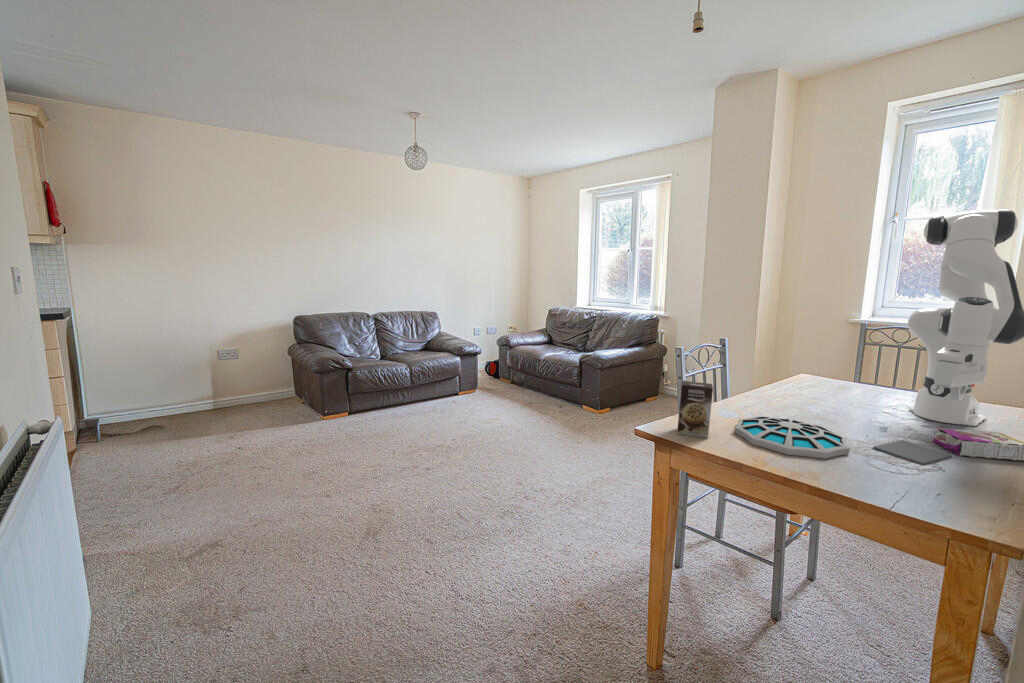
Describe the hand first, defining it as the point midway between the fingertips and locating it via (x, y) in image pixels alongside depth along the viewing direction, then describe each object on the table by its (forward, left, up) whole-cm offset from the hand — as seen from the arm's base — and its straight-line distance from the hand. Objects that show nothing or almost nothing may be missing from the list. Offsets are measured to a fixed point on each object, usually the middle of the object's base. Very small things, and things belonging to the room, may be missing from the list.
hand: (956, 399), depth 134 cm
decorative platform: (+41, -21, -15) cm, 49 cm away
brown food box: (+66, -35, -14) cm, 76 cm away
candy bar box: (+5, +1, -12) cm, 13 cm away
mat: (+18, 0, -14) cm, 23 cm away
